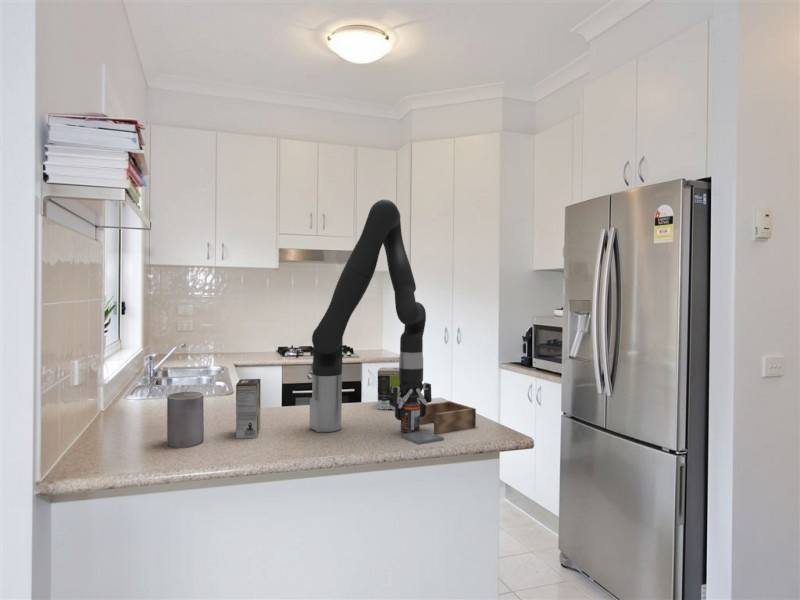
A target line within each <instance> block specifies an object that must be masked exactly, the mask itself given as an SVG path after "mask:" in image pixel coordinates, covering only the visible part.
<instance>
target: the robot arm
mask: <svg viewBox="0 0 800 600" xmlns="http://www.w3.org/2000/svg"><path fill="white" fill-rule="evenodd" d="M401 224H402V223H401V213H400V211H399V208H398V207H397V206H396V204H395V203H394V202H393V201H392V200H389V199H380V200H377V201H375V202H374V203H373V205H372V206H371V207H370V210H369V213H368V215H367V218H366V221H365V223H364V226H363V229H362V231H361V235H360V237H359V239H358V241H357V242H356V243H355V244H356V245H354V248H353V249H352V251H351V253H350V256H349V258H348V259H347V261H346V263H345V265H344V267H343V270H342V271H341V274H340V275H339V278H338V280H337V283H336V285H335V288H334V291H333V295H332V296H331V300H330V302H329V305H328V308H327V310H326V311H325V313H324V315H323V317H322V318H321V320H320V322H318V323H319V324H318V325H317V326H316V328H315V329H314V331H313V333H312V334H311V342H312V345H313V351H312V352H313V353H312V354H313V355H312V357H313V359H312V367H311V368H312V370H311V371H312V373H311V374H312V379H311V380H312V382H311V383H312V384H311V386H312V389H311V390H312V393H311V394H312V395H311V397H310V398H309V429H310V430H313V431H314V432H317V433H329V432H336V431H340V430H341V429H342V423H343V422H342V420H343V419H342V412H343V410H342V409H343V408H342V406H343V405H342V403H343V400H342V397H343V393H342V392H343V391H342V389H343V386H342V385H343V349H344V348H343V339H344V338H343V337H344V334H345V331H346V329H347V326H348V323H349V320H350V318H351V317H352V314H353V313H354V311H355V310H356V308H357V307H358V306H359V303H360V302H361V300H362V299H363V297H364V295H365V293H366V292H367V290H368V287H369V285H370V284H371V281H372V279H373V277H374V274H375V271H376V268H377V264H378V260H379V256H380V252H381V249H382V246H383V247H384V251H385V255H386V263H387V269H388V273H389V279H390V280H391V284H392V288H393V291H394V302H395V311H396V316H397V318H398V320H399V321H400V322H401V323H402V324H403V325H404V329H403V330H404V331H403V332H402V333H401V335H400V339H399V342H400V343H399V352H400V353H399V357H398V358H399V359H398V365H399V366H398V367H399V382H400V385H399V387H394V386H391V387H390V400H389V405H391V406H394V407H395V410H394V417H395V419H396V420H397V421H401V420H402V408H401V407H402V406H403V404H404V403H405V402H406V401H407V399H408V397H409V396H416V395H417V400H418V401H419V403H420V417H424V416H425V414H426V404H430V403H431V402H432V401H433V400H432V384H431V383H428V382H424V383H423V381H424V354H423V352H424V349H423V347H424V345H423V343H424V342H423V341H424V340H423V337H424V333H425V326H426V321H427V313H426V312H427V311H426V308H425V306H424V305H423V304H422V303H421V302H419V301H416V297H415V292H416V290H417V286H416V282H415V278H414V273H413V270H412V267H411V265H410V260H409V257H408V254H407V252H406V248H405V244H404V240H403V235H402V234H403V233H402V226H401ZM399 391H400V394H399V396H398V397H397V394H398V393H399ZM422 391H423V393H422ZM402 397H403V398H402Z"/></svg>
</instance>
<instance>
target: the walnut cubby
mask: <svg viewBox="0 0 800 600" xmlns="http://www.w3.org/2000/svg"><path fill="white" fill-rule="evenodd" d="M476 412H477V410H476V408H474V407H471V406H468V405H464V404H460V403H457V402H453V401H450V400H449V401H442V402H434V403H427V404H426V414H425V416H424V417H420V425H423V424H424V425H425V424H430V423H433V433H434V434H437V435H440V434H444V433H450V432H456V431H462V430H469V429H474V428H476V426H477V425H476V422H477V421H476V419H477V417H476V416H477V415H476Z"/></svg>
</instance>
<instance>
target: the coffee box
mask: <svg viewBox="0 0 800 600" xmlns="http://www.w3.org/2000/svg"><path fill="white" fill-rule="evenodd" d="M261 382H262V381H261V378H243V379H242V378H241V379H239V380H238V381H237V383H236V385H235V438H236V439H257V438H258V437H259V434H260V431H261Z"/></svg>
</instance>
